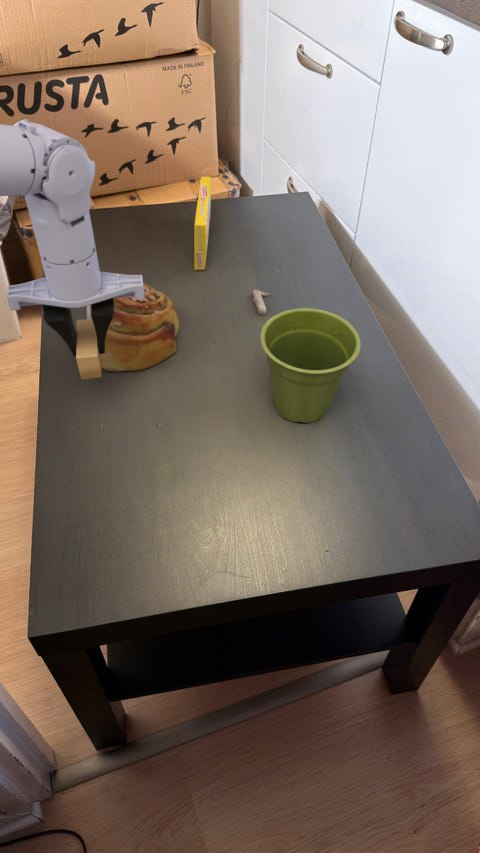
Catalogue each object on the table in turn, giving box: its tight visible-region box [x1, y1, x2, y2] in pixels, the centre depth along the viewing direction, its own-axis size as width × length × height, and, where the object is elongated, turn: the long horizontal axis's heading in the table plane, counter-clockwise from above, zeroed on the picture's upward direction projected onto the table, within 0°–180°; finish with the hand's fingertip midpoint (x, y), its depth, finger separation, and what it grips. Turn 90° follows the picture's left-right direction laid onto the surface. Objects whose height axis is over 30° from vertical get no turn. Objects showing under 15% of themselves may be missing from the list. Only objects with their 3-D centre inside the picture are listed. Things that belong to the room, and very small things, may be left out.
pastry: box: [101, 281, 181, 373], centre depth 88 cm, size 13×15×8 cm
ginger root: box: [251, 289, 271, 315], centre depth 96 cm, size 6×1×3 cm
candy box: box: [193, 176, 212, 271], centre depth 104 cm, size 16×2×8 cm, turn 179°
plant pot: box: [259, 307, 362, 424], centre depth 78 cm, size 12×12×11 cm
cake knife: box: [75, 305, 103, 380], centre depth 78 cm, size 19×2×3 cm, turn 9°
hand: (89, 349), depth 74 cm, fingers closed on cake knife, 2 cm apart
